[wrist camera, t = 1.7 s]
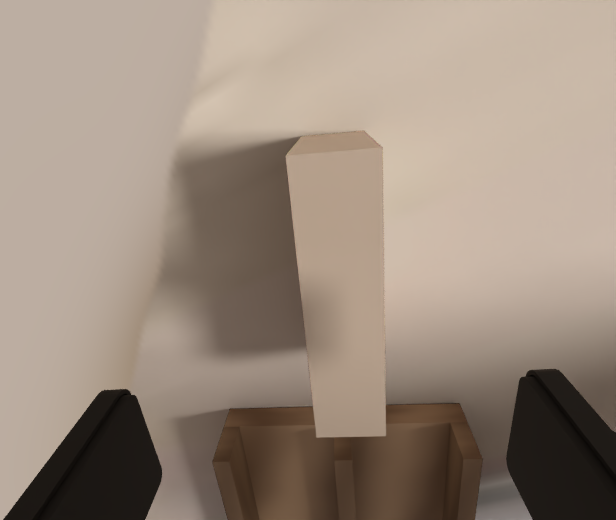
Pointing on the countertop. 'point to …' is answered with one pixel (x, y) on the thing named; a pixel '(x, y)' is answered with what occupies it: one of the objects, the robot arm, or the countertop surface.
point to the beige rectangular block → (341, 277)
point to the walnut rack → (348, 467)
